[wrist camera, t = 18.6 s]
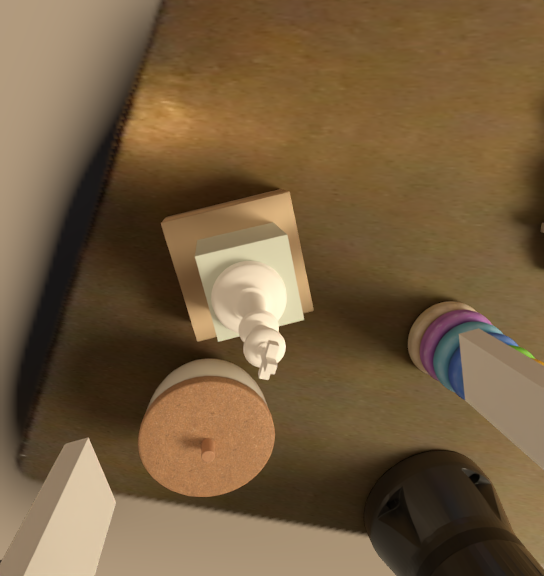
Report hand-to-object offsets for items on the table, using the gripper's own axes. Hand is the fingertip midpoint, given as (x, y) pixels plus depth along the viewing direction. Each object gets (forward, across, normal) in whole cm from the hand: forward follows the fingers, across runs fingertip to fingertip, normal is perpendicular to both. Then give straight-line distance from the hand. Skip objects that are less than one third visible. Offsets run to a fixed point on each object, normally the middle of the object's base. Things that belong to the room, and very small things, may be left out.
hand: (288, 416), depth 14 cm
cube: (+19, 0, -1) cm, 19 cm away
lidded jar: (+24, +6, +11) cm, 27 cm away
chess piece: (+14, 0, 0) cm, 14 cm away
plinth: (+23, 0, -1) cm, 23 cm away
